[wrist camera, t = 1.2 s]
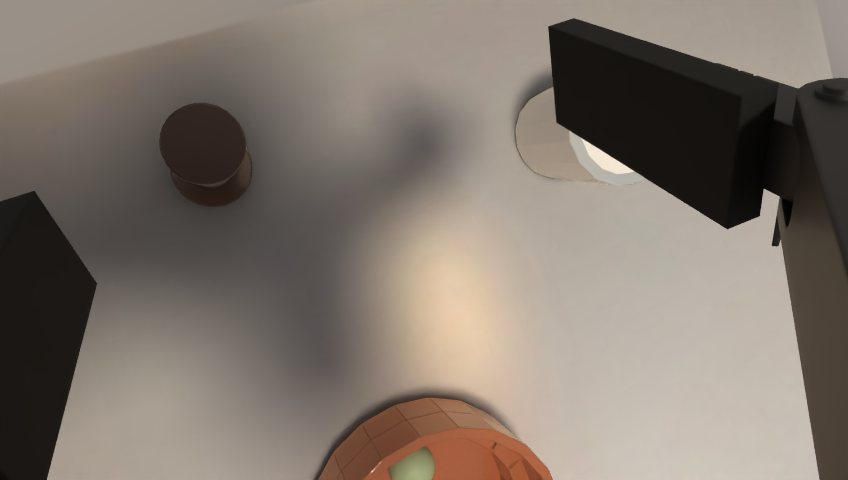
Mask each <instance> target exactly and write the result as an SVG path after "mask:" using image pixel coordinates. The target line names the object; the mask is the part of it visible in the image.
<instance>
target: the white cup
mask: <svg viewBox="0 0 848 480" xmlns="http://www.w3.org/2000/svg"><path fill="white" fill-rule="evenodd" d="M515 133H516V144H517V148H518V151H519V153H520V155H521V157H522V159H523V161H524V163H526V164H527V165H528V166H529V167H530V168H531V169H532V170H533V171H534V172H535V173H538V174H541V175H544V176H547V177H550V178H557V179H565V180H573V181H580V182H588V183H596V184H603V185H611V186H620V185H628V184H635V183H637V182H639V181H640V180H642V179H643V178H644V177H643V176H641V175H640V174H638V173H636V172H635V171H633V170H632V169H630V168H628V167H627V166H625V165H624V164H622V163H620V162H619V161H617V160H616V159H614V158H612V157H611V156H609V155H608V154H606V153H604V152H603V151H601V150H600V149H598V148H596V147H595V146H593V145H592V144H590V143H588V142H587V141H585V140H584V139H582V138H580V137H579V136H577V135H575V134H574V133H572V132H571V131H569V130H567V129H566V128H564V127H563V126H561V125H559V124H558V123H556V113H555V101H554V89H553V87H551V88H549V89H547V90H545V91H543V92H542V93H540V94H538V95H536V96H535V97H533V98H531V99H529V101H528V102H527V103H526V105H525V106H524V107H523V109H522V110H521V112H520V113H519V117H518V121H517V124H516V128H515Z"/></svg>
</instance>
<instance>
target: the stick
mask: <svg viewBox="0 0 848 480" xmlns="http://www.w3.org/2000/svg"><path fill="white" fill-rule="evenodd" d="M159 144H160V151H161V154H162V157H163V159H164V161H165V163H166V164H167V166H168V167H169V168H170V171H171V176H172V179H173V182H174V184H175V186H176V187H177V189H178V190H179V191H180V192H181V194H183V195H184V196H185V197H186V198H187V199H189V200H190V201H192V202H194V203H196V204H199V205H203V206H208V207H217V206H223V205H226V204H229V203H231V202H233V201H235V200H236V199H238V198H239V197H240V196H241V195H242V194H243V193H244V192H245V191H246V189H247V187H248V185H249V183H250V180H251V176H252V163H251V159H250V156H249V154H248V152H247V150H246V140H245V135H244V132H243V130H242V128H241V126H240V124H239V123H238V122H237V120H236V119H235V118H234V117H233V116H232V115H231V114H230V113H228V112H227V111H225V110H224V109H222V108H220V107H218V106H215V105H212V104H207V103H194V104H189V105H186V106H183V107H181V108H179V109H178V110H176V111H175V112H173V113H172V114H171V115H170V116H169V117H168V118H167V120H166V121H165V123H164V125H163V127H162V129H161V133H160V139H159Z"/></svg>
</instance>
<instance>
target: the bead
mask: <svg viewBox="0 0 848 480" xmlns="http://www.w3.org/2000/svg"><path fill="white" fill-rule="evenodd" d="M434 471H435V461H434V457H433V455H432V453H431V451H430V450H429V449H428V448H427V447H426V446H424V447H422V448H420V449H418V450H417V451H415V452H413V453H412V454H410V455H408V456H407V457H405V458H403V459H402V460H400V461H398V462H397V463H395V464H393V465H392V466H390V467H388V473H389V476H390V478H391V480H432V478H433V475H434Z"/></svg>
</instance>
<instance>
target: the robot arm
mask: <svg viewBox="0 0 848 480" xmlns="http://www.w3.org/2000/svg"><path fill="white" fill-rule="evenodd" d="M548 28H549V41H550V53H551V65H552V77H553V89H554V101H555V113H556V123H558V124H559V125H561V126H563V127H564V128H566V129H567V130H569V131H571V132H572V133H574V134H575V135H577V136H579V137H580V138H582V139H584V140H585V141H587V142H588V143H590V144H592V145H593V146H595V147H596V148H598V149H600V150H601V151H603V152H604V153H606V154H608V155H609V156H611V157H612V158H614V159H616V160H617V161H619V162H620V163H622V164H624V165H625V166H627V167H628V168H630V169H632V170H633V171H635V172H636V173H638V174H640V175H641V176H643V177H644V178H646V179H648V180H649V181H651V182H652V183H654V184H656V185H657V186H659V187H660V188H662V189H664V190H665V191H667V192H668V193H670V194H672V195H673V196H675V197H676V198H678V199H680V200H681V201H683V202H684V203H686V204H688V205H689V206H691V207H692V208H694V209H696V210H697V211H699V212H700V213H702V214H704V215H705V216H707V217H708V218H710V219H712V220H713V221H715V222H716V223H718V224H720V225H721V226H723V227H724V228H726V229H729V228H732V227H734V226H737V225H739V224H741V223H744V222H746V221H749V220H751V219H754V218H756V217H759V216H760V210H761V203H762V196H763V189H766V190H768V191H770V192H772V193H774V194H776V195H778V196H780V199H779V205H778V211H777V217H776V223H775V229H774V235H773V241H772V246H778V245H779V242H780V240H781V243H782V249H783V255H784V261H785V268H786V274H787V280H788V286H789V292H790V299H791V305H792V311H793V317H794V323H795V330H796V336H797V342H798V348H799V354H800V361H801V367H802V373H803V379H804V386H805V392H806V398H807V404H808V410H809V417H810V423H811V429H812V435H813V441H814V448H815V454H816V460H817V466H818V472H819V479H820V480H848V78H836V79H835V78H834V79H826V80H818V81H815V82H811V83H808V84H805V85H804V86H802V87H801V88H799V89H798V88H795V87H791V86H788V85H785V84H782V83H779V82H776V81H772V80H769V79H766V78H763V77H760V76H753V74H750V73H747V72H744V71H738V69H735V68H731V67H728V66H725V65H722V64H719V63H712V62H709V61H706V60H703V59H700V58H697V57H694V56H690V55H687V54H684V53H681V52H678V51H675V50H672V49H669V48H665V47H662V46H659V45H656V44H653V43H650V42H647V41H644V40H640V39H637V38H634V37H631V36H628V35H625V34H622V33H618V32H615V31H612V30H609V29H606V28H603V27H600V26H597V25H593V24H590V23H587V22H584V21H581V20H578V19H575V18H573V19H570V20H567V21H564V22H561V23H558V24H555V25H551V26H548ZM96 285H97V283H96V281H95V280H94V278H93V277H92V275H91V274H90V272H89V271H88V269H87V268H86V266H85V265H84V263H83V262H82V261H81V259H80V258H79V256H78V255H77V253H76V252H75V250H74V249H73V247H72V246H71V244H70V243H69V241H68V240H67V238H66V237H65V235H64V234H63V232H62V231H61V230H60V228H59V227H58V225H57V224H56V222H55V221H54V219H53V218H52V216H51V215H50V213H49V212H48V210H47V209H46V207H45V206H44V204H43V203H42V201H41V200H40V199H39V197H38V196H37V194H36V193H35V191H32V192H29V193H26V194H23V195H20V196H17V197H13V198H10V199H7V200H4V201H1V202H0V480H47V477H48V473H49V469H50V465H51V461H52V457H53V453H54V449H55V445H56V441H57V438H58V434H59V430H60V426H61V422H62V418H63V414H64V410H65V406H66V402H67V399H68V395H69V391H70V387H71V383H72V379H73V375H74V371H75V367H76V363H77V360H78V356H79V352H80V348H81V344H82V340H83V336H84V332H85V328H86V324H87V321H88V317H89V313H90V309H91V305H92V301H93V297H94V293H95V289H96Z"/></svg>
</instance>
